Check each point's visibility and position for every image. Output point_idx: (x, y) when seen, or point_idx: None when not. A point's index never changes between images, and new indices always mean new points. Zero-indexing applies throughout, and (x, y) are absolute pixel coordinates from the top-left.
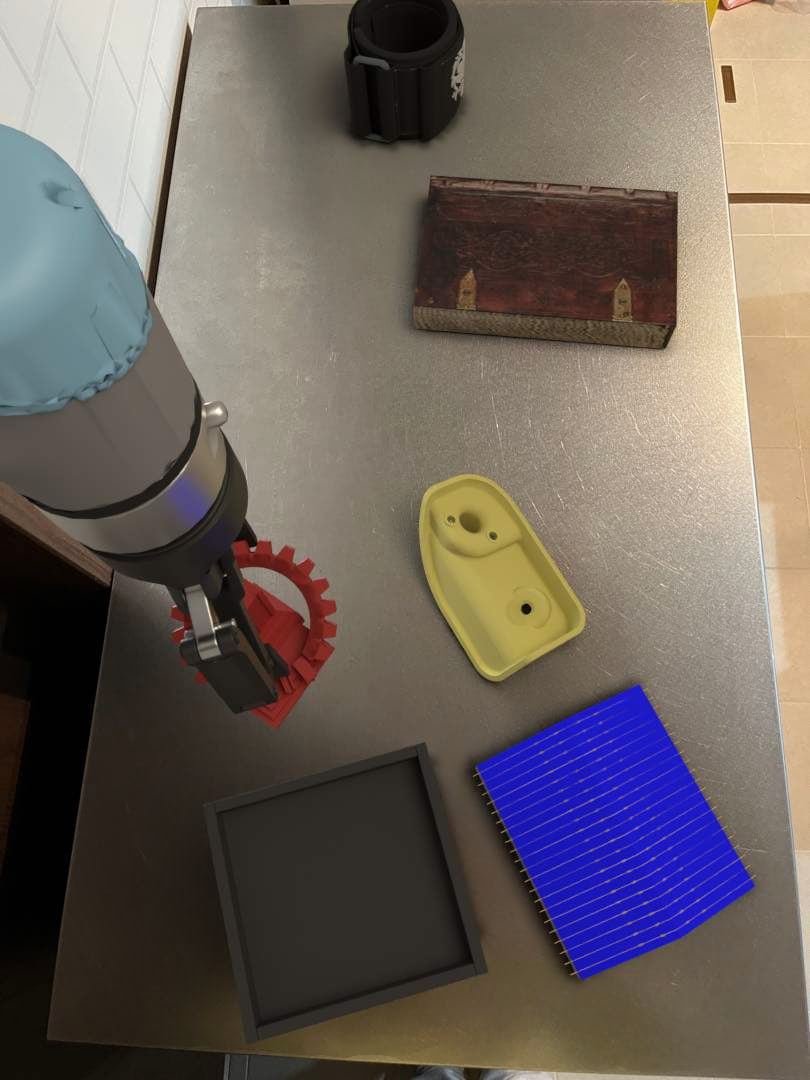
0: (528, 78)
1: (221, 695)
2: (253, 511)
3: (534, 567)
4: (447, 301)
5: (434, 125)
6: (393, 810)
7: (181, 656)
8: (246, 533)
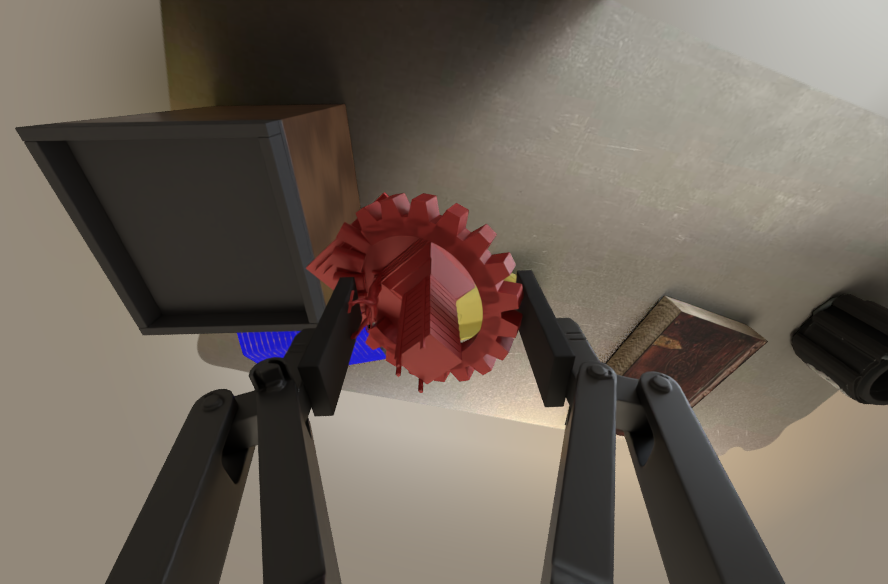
0: (780, 391)
1: (151, 495)
2: (591, 147)
3: (472, 323)
4: (669, 331)
5: (800, 346)
6: (273, 286)
7: None
8: (524, 340)
